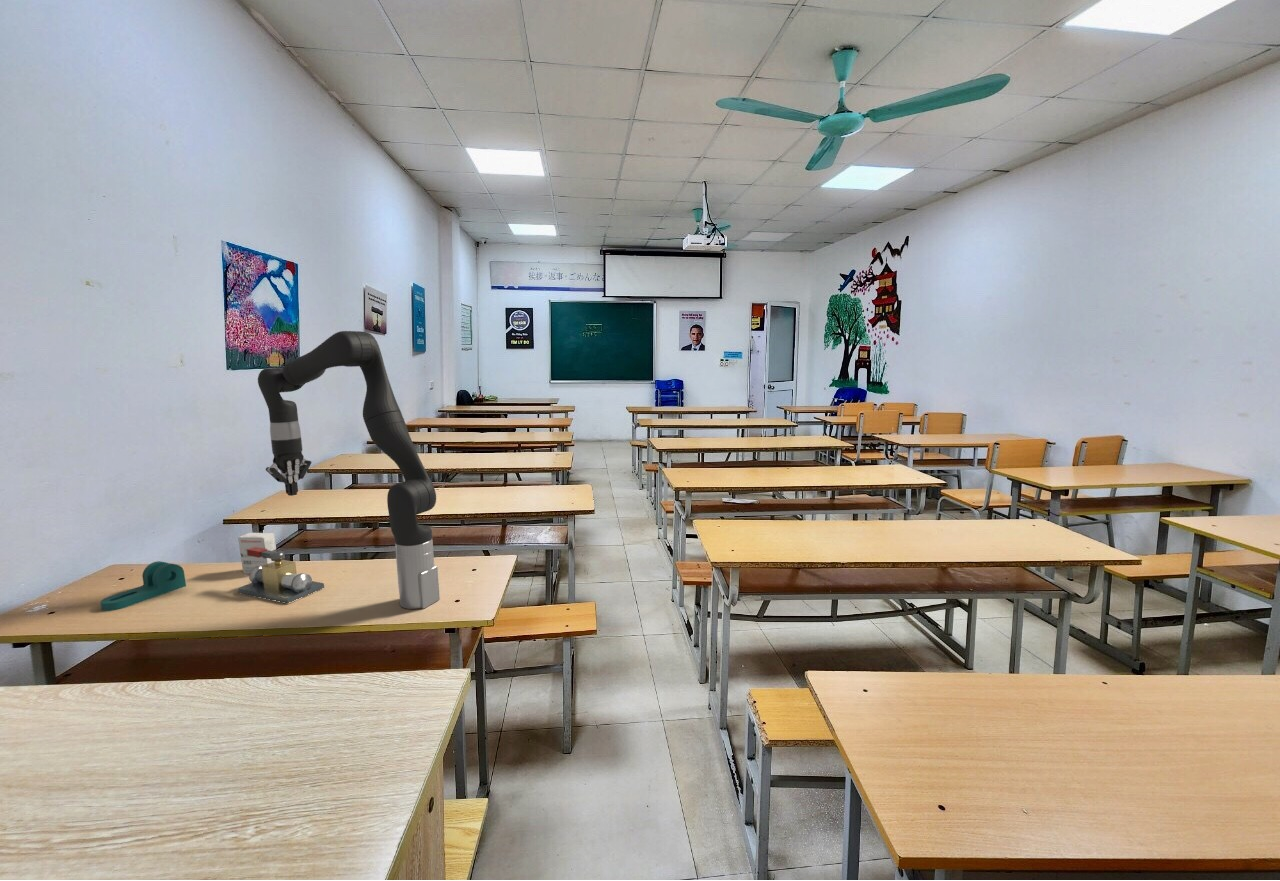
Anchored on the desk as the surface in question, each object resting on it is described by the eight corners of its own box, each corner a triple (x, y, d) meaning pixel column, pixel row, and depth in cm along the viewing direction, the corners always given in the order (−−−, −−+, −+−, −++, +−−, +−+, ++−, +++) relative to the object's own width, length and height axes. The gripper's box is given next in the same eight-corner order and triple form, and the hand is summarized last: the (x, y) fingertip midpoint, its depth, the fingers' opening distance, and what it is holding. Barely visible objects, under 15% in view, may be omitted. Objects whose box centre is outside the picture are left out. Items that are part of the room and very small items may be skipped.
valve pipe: (324, 588, 164) (321, 557, 163) (288, 604, 154) (284, 571, 152) (275, 578, 171) (272, 549, 170) (238, 593, 161) (234, 562, 160)
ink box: (279, 568, 179) (275, 532, 178) (268, 574, 175) (263, 537, 173) (254, 567, 180) (249, 531, 178) (241, 573, 175) (237, 536, 174)
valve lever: (257, 552, 167) (256, 546, 166) (287, 557, 162) (286, 551, 162) (246, 555, 164) (245, 549, 164) (276, 561, 159) (275, 555, 159)
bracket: (171, 583, 169) (167, 558, 168) (186, 586, 167) (182, 560, 165) (95, 609, 153) (91, 581, 151) (111, 613, 150) (106, 584, 149)
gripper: (272, 441, 159) (279, 501, 162) (315, 434, 171) (321, 491, 174) (254, 439, 162) (261, 499, 165) (298, 433, 174) (304, 488, 177)
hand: (292, 494), depth 170 cm, fingers closed
